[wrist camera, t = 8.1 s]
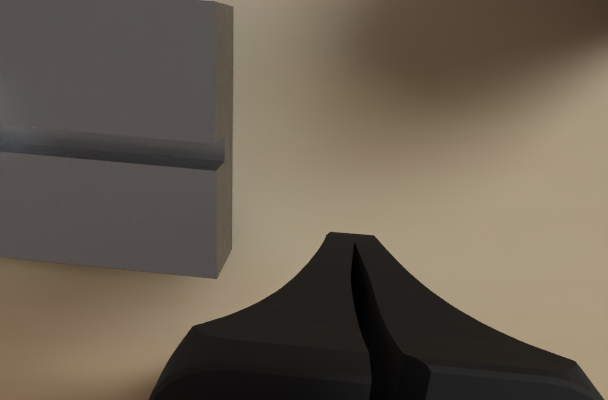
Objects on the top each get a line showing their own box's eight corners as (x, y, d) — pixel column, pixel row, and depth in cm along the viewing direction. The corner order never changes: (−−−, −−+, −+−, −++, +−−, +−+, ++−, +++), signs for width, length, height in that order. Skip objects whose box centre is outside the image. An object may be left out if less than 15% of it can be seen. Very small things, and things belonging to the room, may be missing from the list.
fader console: (231, 249, 23) (216, 280, 20) (-102, 216, 24) (-163, 241, 21) (233, 6, 18) (213, 1, 15) (-177, -23, 19) (-268, -34, 16)
